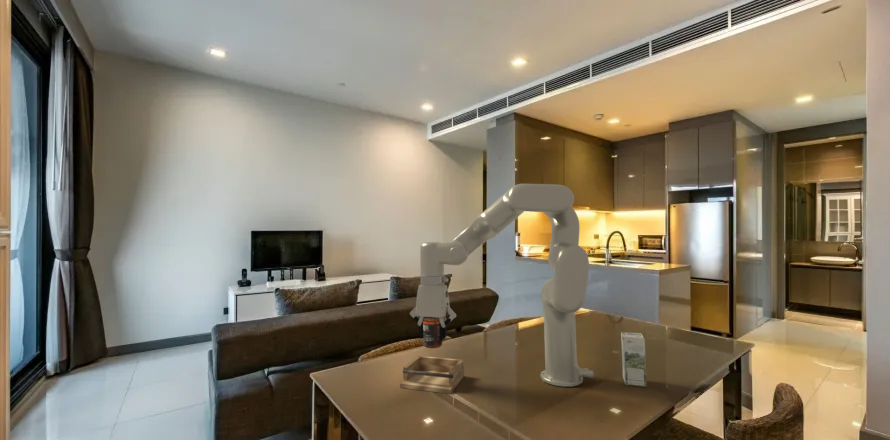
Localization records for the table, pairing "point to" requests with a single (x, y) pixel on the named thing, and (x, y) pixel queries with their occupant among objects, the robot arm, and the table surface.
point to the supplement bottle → (431, 332)
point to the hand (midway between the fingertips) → (432, 338)
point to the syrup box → (633, 359)
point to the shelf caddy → (433, 374)
